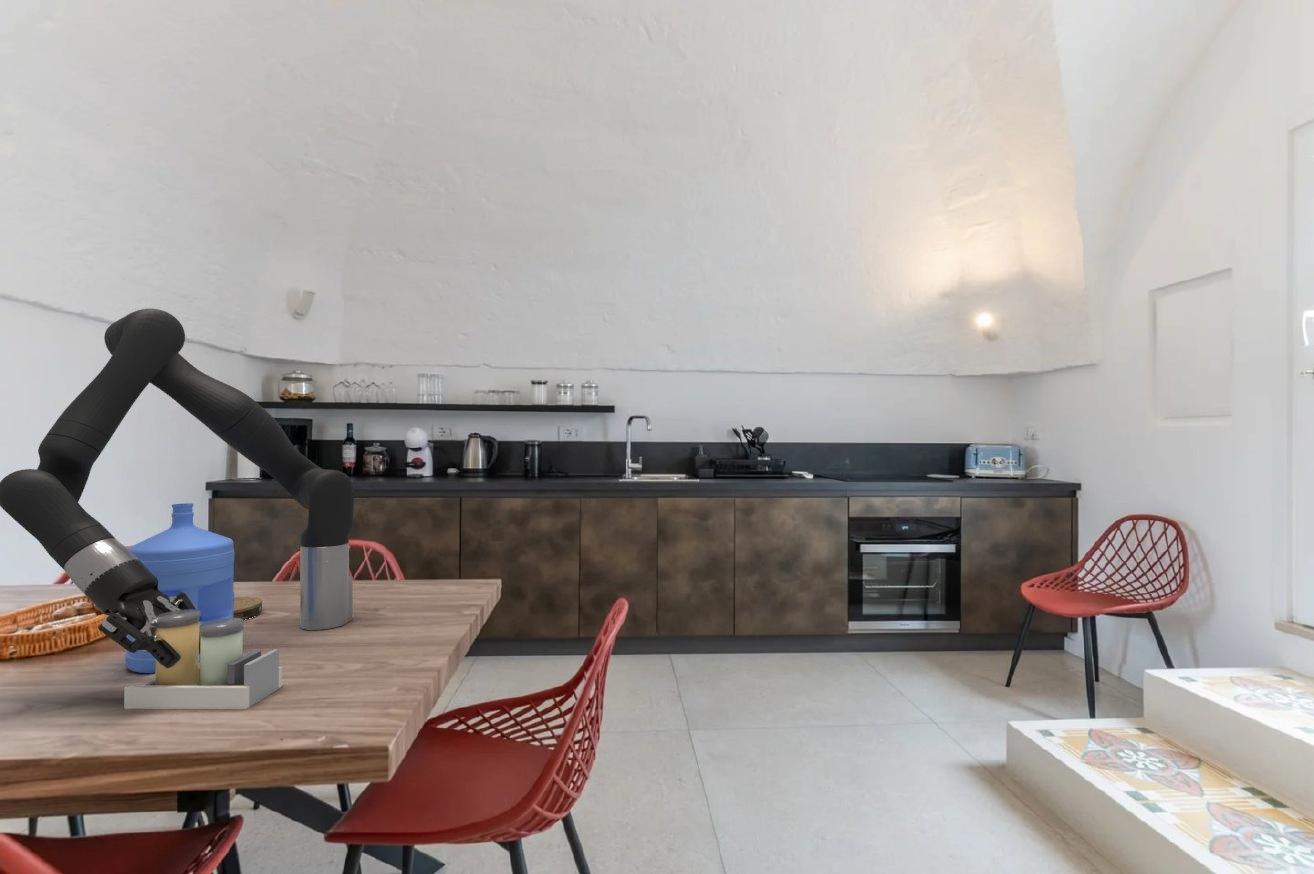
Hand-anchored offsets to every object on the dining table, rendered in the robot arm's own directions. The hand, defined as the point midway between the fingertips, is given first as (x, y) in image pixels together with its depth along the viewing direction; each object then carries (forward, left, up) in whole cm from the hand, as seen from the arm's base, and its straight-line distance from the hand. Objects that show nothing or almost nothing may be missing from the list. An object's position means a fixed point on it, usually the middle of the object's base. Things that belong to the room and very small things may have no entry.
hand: (189, 656), depth 94 cm
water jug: (-12, -22, -7) cm, 26 cm away
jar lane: (-1, +2, -7) cm, 8 cm away
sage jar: (-2, +5, -6) cm, 8 cm away
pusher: (-3, +8, -6) cm, 11 cm away
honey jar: (+1, -2, -5) cm, 5 cm away
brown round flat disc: (-33, -43, -8) cm, 55 cm away
